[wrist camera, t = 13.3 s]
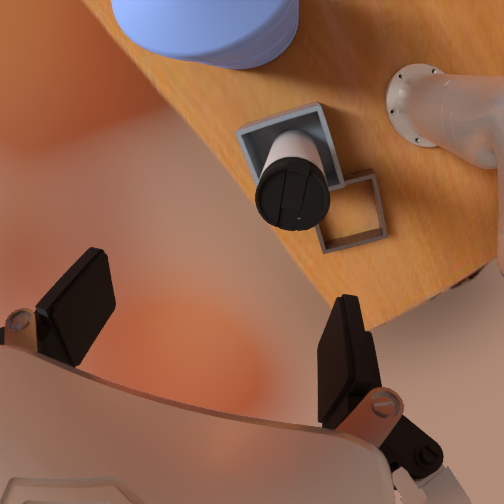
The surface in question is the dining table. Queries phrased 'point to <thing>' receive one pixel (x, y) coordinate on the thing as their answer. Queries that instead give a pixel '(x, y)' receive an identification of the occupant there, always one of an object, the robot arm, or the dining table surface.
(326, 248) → the metal collar
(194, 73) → the dining table surface
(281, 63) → the dining table surface
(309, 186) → the travel mug
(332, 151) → the grey bin
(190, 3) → the water jug
